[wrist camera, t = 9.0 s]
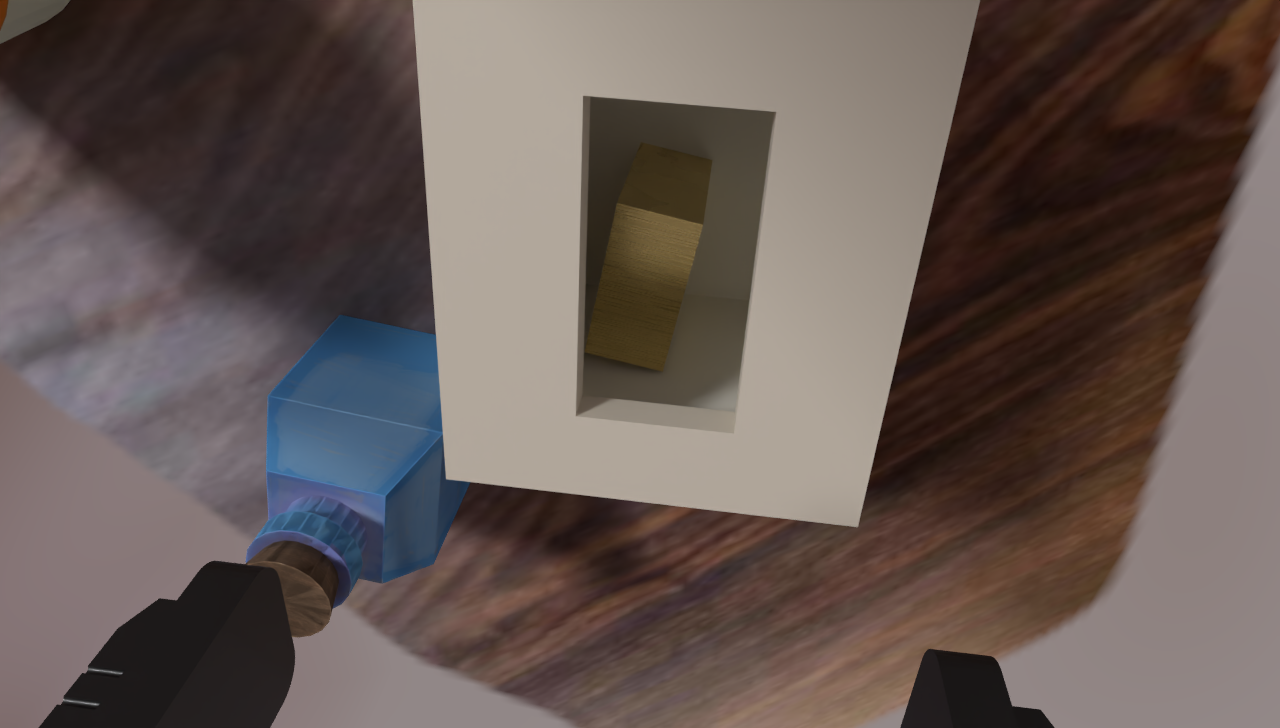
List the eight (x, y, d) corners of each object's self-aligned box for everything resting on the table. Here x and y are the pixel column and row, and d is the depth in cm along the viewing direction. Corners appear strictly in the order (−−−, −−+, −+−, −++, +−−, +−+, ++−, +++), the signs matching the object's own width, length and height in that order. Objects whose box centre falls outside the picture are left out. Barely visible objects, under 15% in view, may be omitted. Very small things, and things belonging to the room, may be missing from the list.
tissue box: (538, -88, 28) (409, -49, 17) (895, -63, 27) (981, -7, 17) (539, 289, 34) (446, 479, 24) (827, 318, 34) (858, 527, 23)
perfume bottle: (490, 346, 36) (382, 547, 26) (477, 466, 39) (377, 688, 29) (340, 314, 36) (172, 502, 26) (340, 437, 39) (190, 647, 29)
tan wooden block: (616, 202, 25) (584, 352, 28) (703, 224, 25) (662, 371, 28) (640, 142, 30) (611, 272, 33) (712, 160, 30) (677, 289, 33)
